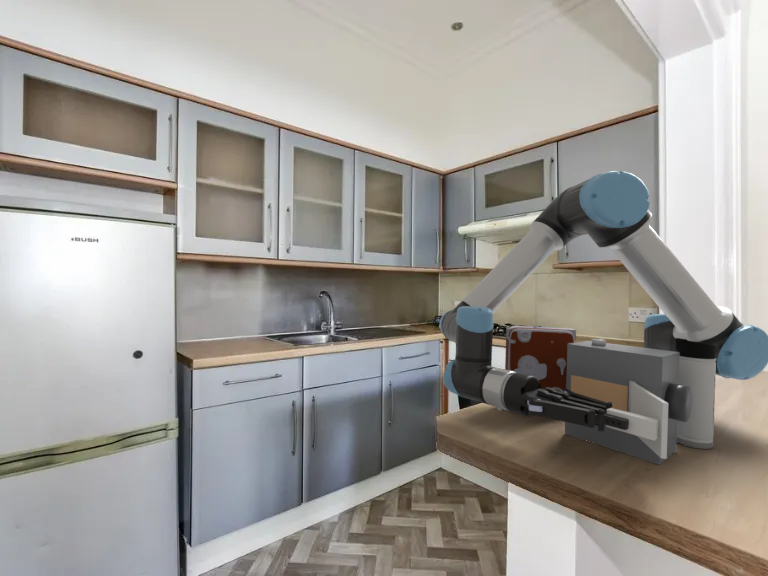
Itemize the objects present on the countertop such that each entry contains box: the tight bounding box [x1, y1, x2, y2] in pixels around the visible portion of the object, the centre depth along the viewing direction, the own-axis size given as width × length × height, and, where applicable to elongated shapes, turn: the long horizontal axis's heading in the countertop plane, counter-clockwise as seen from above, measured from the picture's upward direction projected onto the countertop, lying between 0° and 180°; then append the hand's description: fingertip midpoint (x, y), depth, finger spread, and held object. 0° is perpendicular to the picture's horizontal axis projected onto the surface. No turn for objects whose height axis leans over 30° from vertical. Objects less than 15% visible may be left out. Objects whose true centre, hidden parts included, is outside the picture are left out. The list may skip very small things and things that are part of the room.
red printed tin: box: [504, 325, 577, 392], centre depth 91 cm, size 9×19×20 cm, turn 78°
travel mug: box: [675, 338, 717, 450], centre depth 75 cm, size 6×7×20 cm
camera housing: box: [564, 338, 692, 465], centre depth 73 cm, size 18×9×19 cm, turn 38°
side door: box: [628, 381, 668, 460], centre depth 62 cm, size 12×1×8 cm, turn 167°
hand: (656, 430), depth 56 cm, fingers closed
